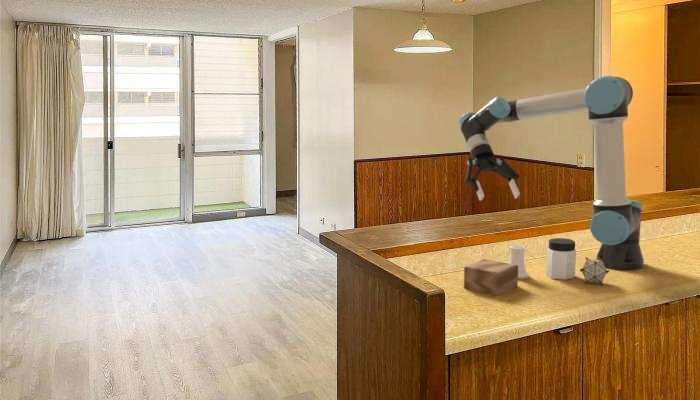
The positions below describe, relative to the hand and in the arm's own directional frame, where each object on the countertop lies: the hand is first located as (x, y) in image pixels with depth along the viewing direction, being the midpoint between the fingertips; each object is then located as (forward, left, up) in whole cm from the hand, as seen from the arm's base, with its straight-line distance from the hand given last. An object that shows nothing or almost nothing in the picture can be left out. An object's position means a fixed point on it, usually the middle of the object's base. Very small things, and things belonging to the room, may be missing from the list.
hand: (500, 197), depth 203 cm
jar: (-21, -4, -25) cm, 33 cm away
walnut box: (-10, +21, -25) cm, 34 cm away
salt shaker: (-10, +5, -25) cm, 27 cm away
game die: (-32, -4, -25) cm, 41 cm away
